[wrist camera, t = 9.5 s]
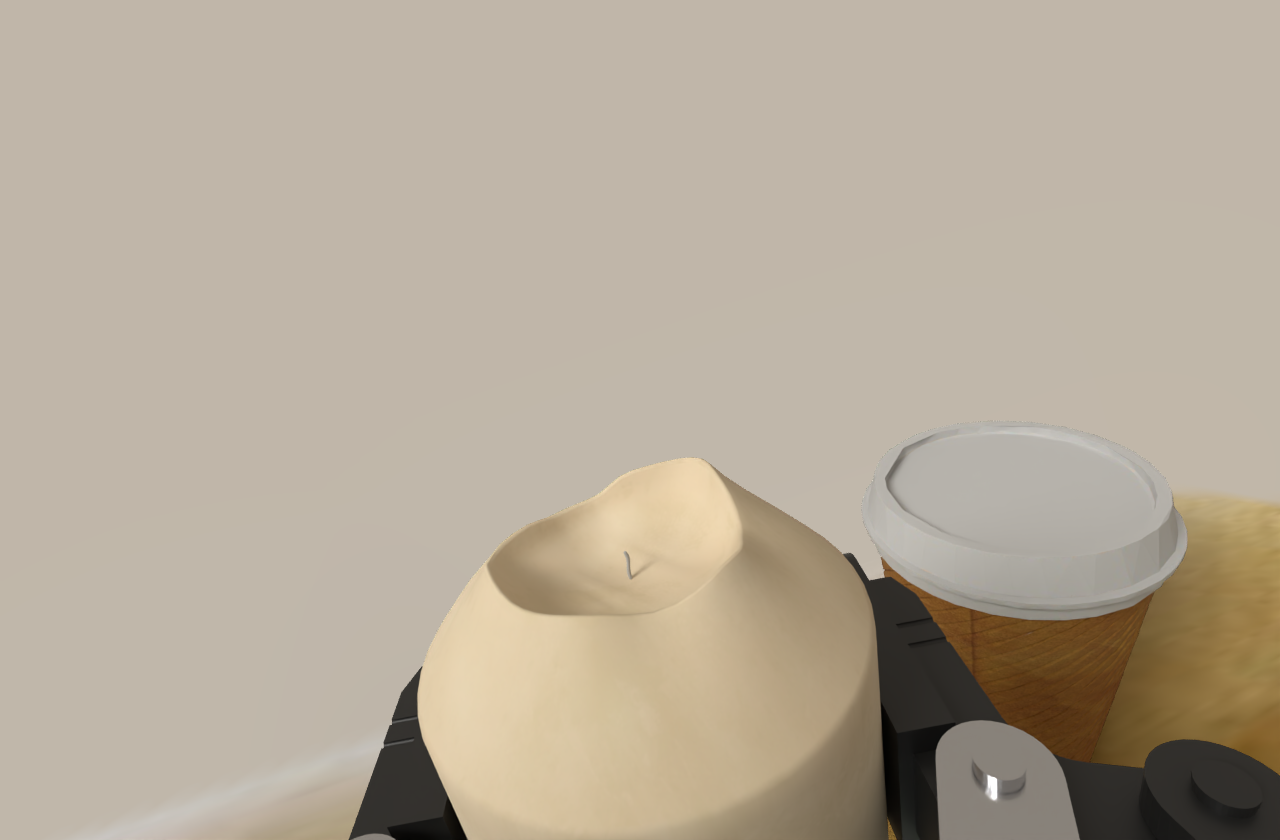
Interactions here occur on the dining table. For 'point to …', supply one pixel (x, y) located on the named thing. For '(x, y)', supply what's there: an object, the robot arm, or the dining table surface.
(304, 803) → the dining table surface
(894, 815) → the robot arm
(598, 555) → the candle
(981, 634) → the disposable coffee cup
